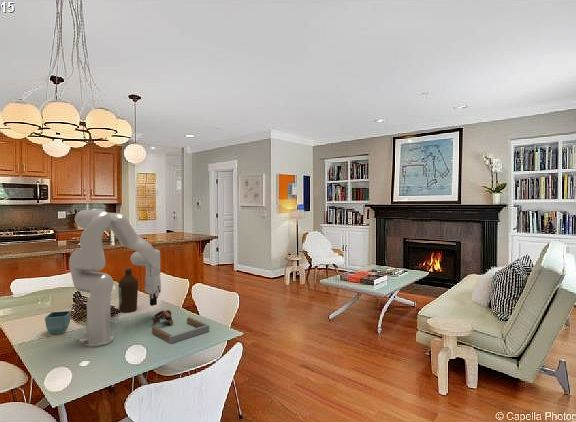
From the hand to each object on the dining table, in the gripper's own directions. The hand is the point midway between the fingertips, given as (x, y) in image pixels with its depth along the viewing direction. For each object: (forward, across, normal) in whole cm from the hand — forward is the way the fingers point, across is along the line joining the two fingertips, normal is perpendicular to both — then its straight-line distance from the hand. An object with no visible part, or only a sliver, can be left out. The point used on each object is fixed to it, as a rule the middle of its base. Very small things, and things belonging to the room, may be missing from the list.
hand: (153, 304), depth 190 cm
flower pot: (+6, -13, -42) cm, 44 cm away
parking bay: (+7, +28, -1) cm, 29 cm away
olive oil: (+8, -23, -4) cm, 24 cm away
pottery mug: (+8, +12, -1) cm, 15 cm away
